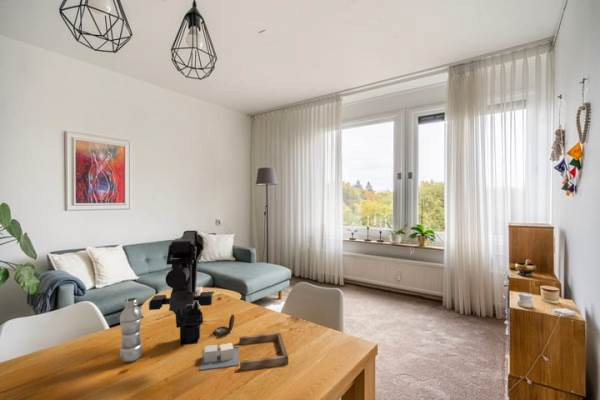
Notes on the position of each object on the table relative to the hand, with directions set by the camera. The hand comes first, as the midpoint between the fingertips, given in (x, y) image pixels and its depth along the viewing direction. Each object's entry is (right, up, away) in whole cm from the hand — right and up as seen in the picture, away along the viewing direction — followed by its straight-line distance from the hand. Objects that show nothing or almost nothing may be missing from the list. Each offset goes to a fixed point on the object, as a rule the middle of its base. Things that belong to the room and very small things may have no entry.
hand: (182, 326), depth 93 cm
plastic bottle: (-18, -12, +2) cm, 22 cm away
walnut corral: (+25, -12, +6) cm, 28 cm away
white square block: (+14, -12, +3) cm, 18 cm away
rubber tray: (+12, -12, +3) cm, 17 cm away
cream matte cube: (+9, -12, +2) cm, 15 cm away
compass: (+8, -12, +20) cm, 25 cm away
